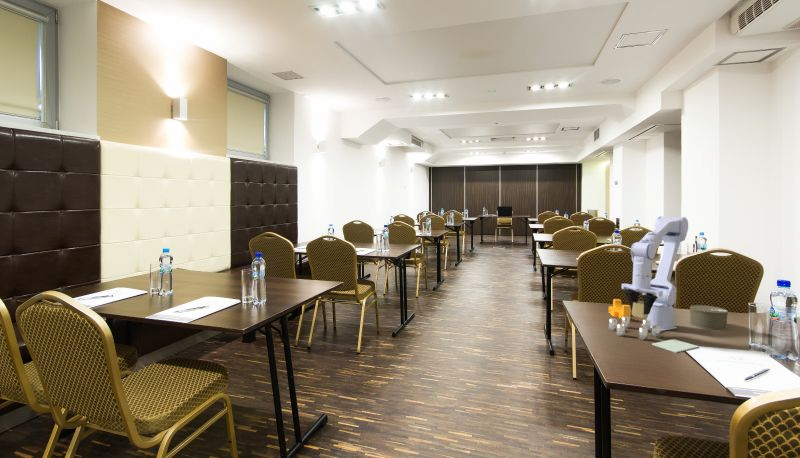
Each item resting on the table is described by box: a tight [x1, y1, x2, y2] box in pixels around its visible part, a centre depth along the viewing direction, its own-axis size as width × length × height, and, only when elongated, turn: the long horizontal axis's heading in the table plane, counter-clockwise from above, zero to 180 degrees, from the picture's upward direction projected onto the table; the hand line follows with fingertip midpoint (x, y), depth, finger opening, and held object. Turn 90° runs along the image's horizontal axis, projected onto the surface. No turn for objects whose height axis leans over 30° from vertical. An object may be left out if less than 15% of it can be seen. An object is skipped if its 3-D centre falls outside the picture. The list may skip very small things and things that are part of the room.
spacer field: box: [608, 316, 661, 341], centre depth 150 cm, size 17×15×4 cm
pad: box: [651, 338, 700, 354], centre depth 136 cm, size 12×8×1 cm, turn 114°
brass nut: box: [631, 300, 648, 319], centre depth 147 cm, size 5×4×5 cm
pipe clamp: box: [608, 298, 632, 322], centre depth 171 cm, size 12×4×6 cm, turn 171°
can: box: [689, 304, 729, 331], centre depth 160 cm, size 12×12×7 cm
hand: (640, 312), depth 148 cm, fingers closed on brass nut, 4 cm apart
